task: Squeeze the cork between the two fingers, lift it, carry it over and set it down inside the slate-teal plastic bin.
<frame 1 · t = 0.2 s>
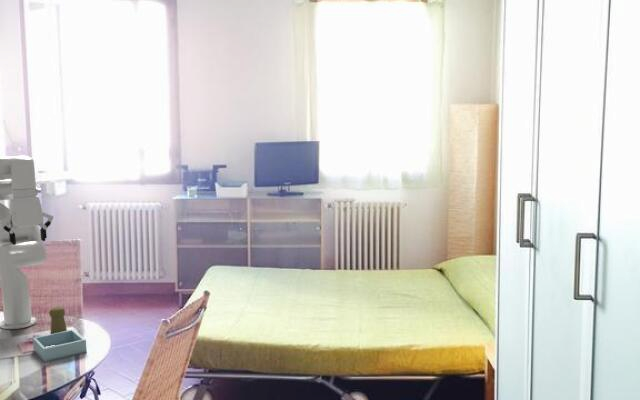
hand: (28, 242, 232), 36 cm above the table, tool pointing down, fingers open, 9 cm apart
cork: (59, 337, 241), on the table
bin: (60, 351, 227), on the table
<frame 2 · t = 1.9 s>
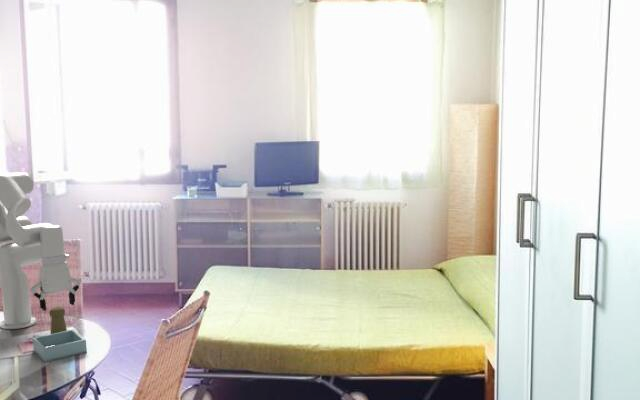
hand: (58, 307, 239), 11 cm above the table, tool pointing down, fingers open, 9 cm apart
nothing on the table moved.
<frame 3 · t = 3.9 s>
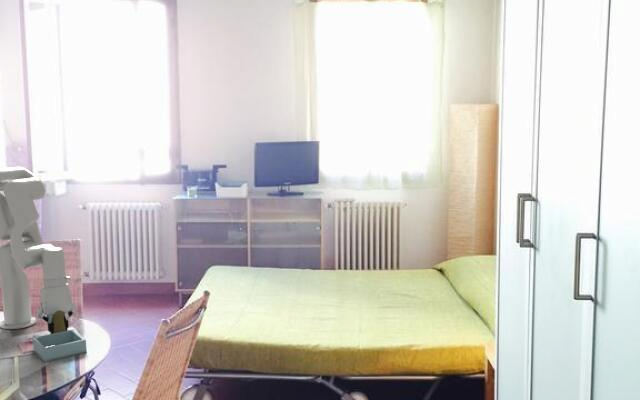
hand: (58, 331, 241), 2 cm above the table, tool pointing down, fingers closed on cork, 4 cm apart
cork: (59, 337, 241), on the table, touching gripper
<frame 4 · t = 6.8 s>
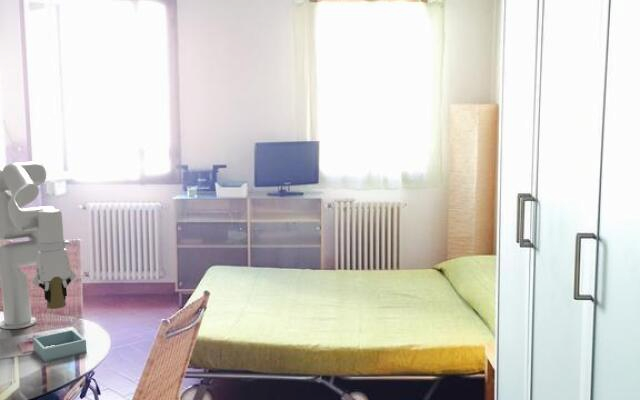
hand: (56, 299, 224), 18 cm above the table, tool pointing down, fingers closed on cork, 4 cm apart
cork: (56, 306, 224), point 16 cm above the table, touching gripper
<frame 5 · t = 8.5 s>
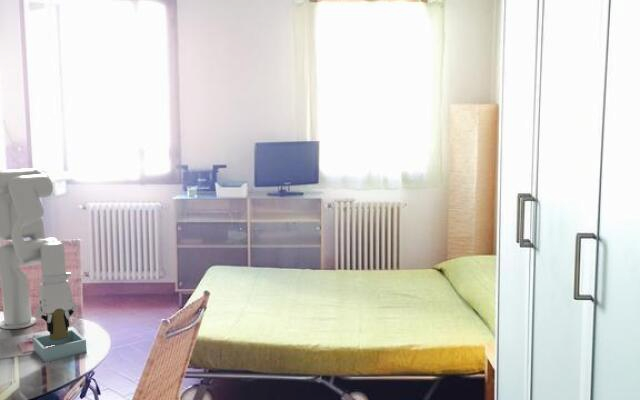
hand: (58, 330, 226), 7 cm above the table, tool pointing down, fingers closed on cork, 4 cm apart
cork: (59, 337, 226), point 5 cm above the table, touching gripper
when the fingers open (5 cm above the table, at t = 9.8 s): cork drops 2 cm, resting on bin.
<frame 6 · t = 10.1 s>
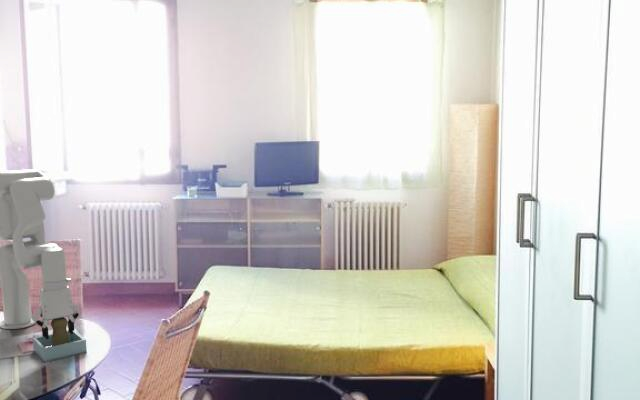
hand: (58, 335, 226), 6 cm above the table, tool pointing down, fingers open, 7 cm apart
cork: (61, 349, 227), resting on bin
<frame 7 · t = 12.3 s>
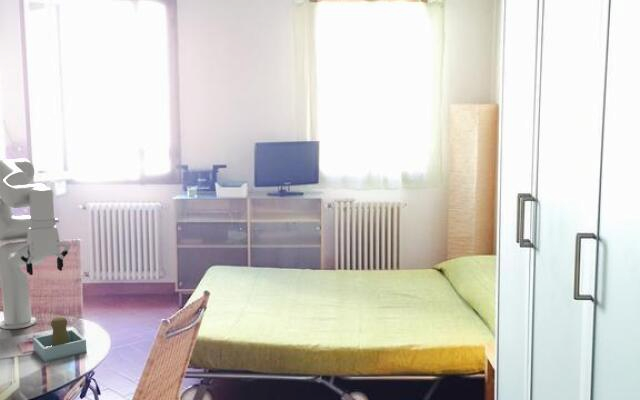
hand: (45, 271, 231), 26 cm above the table, tool pointing down, fingers open, 9 cm apart
nothing on the table moved.
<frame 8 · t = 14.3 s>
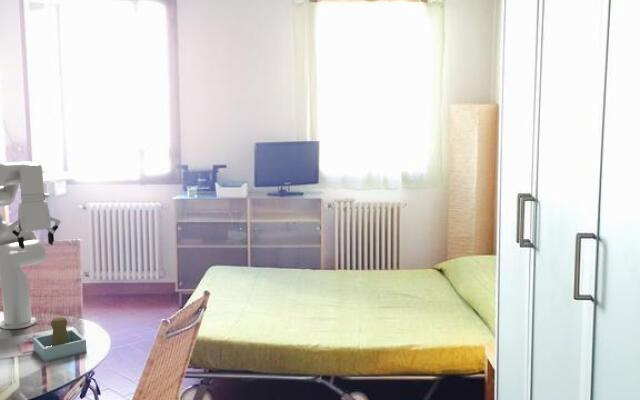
hand: (36, 246, 238), 33 cm above the table, tool pointing down, fingers open, 9 cm apart
nothing on the table moved.
at the end: cork inside the target area on the bin (0.6 cm from its centre), point 0.4 cm above the bin's base; cork tilted 0°; the gripper is holding nothing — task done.
